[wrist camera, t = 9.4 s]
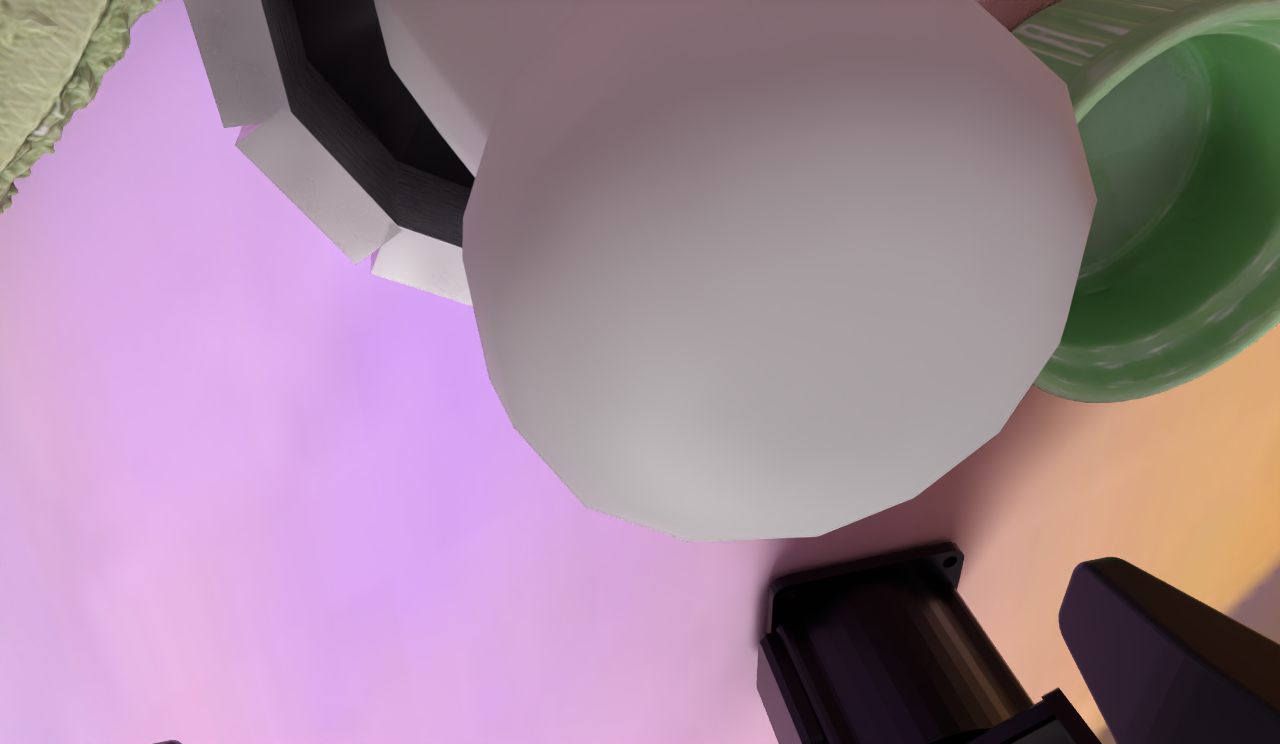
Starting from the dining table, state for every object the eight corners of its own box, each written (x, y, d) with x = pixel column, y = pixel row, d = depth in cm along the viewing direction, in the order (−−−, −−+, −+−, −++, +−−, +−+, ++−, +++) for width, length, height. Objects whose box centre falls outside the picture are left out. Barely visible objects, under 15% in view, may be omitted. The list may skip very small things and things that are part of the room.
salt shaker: (456, 170, 18) (549, 770, 7) (309, -149, 14) (66, 91, 4) (732, 64, 18) (1229, 501, 7) (651, -280, 14) (1373, -412, 4)
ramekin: (1287, -65, 20) (1479, -29, 16) (1172, 285, 25) (1300, 369, 22) (918, -23, 19) (1041, 25, 15) (877, 337, 24) (961, 437, 20)
